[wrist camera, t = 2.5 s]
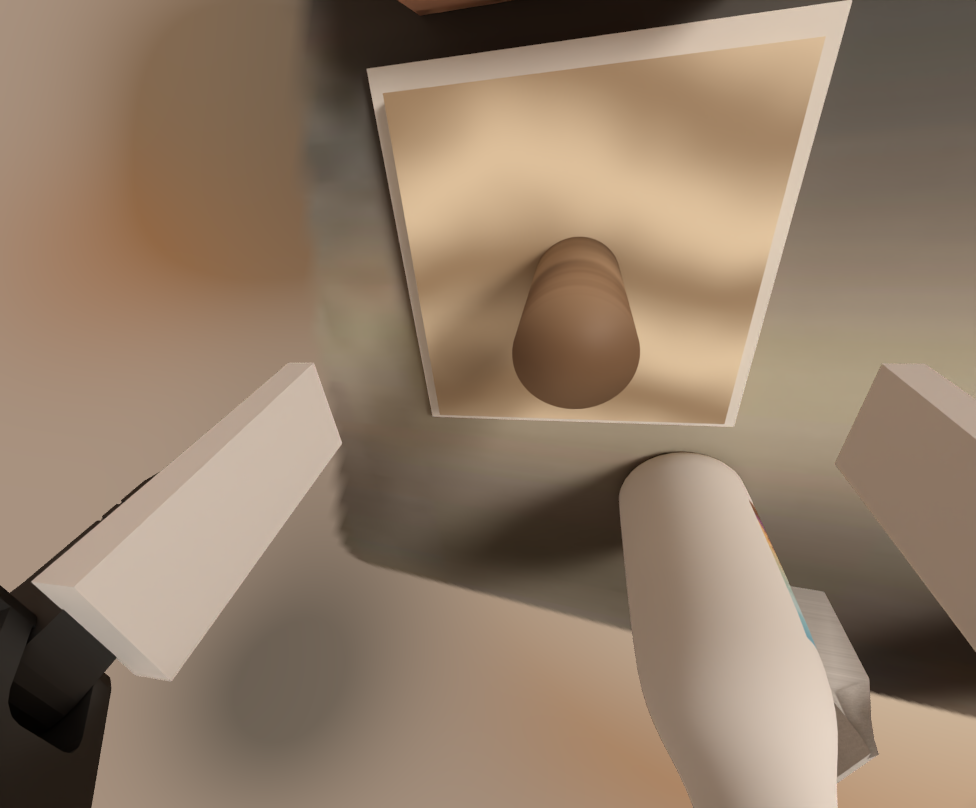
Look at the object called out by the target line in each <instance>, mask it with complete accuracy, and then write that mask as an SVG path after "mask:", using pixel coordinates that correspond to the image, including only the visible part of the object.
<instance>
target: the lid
mask: <svg viewBox="0 0 976 808" xmlns="http://www.w3.org/2000/svg"><path fill="white" fill-rule="evenodd" d="M825 38H826V36H824V37H816V38H808V39H800V40H792V41H785V42H777V43H769V44H761V45H754V46H746V47H738V48H730V49H723V50H715V51H707V52H699V53H691V54H684V55H676V56H668V57H660V58H653V59H645V60H637V61H629V62H622V63H614V64H606V65H598V66H590V67H583V68H575V69H567V70H559V71H552V72H544V73H536V74H528V75H520V76H513V77H505V78H497V79H489V80H482V81H474V82H466V83H458V84H451V85H443V86H435V87H427V88H419V89H412V90H404V91H396V92H388V93H383V98H384V104H385V110H386V115H387V121H388V126H389V132H390V138H391V143H392V149H393V155H394V160H395V166H396V171H397V177H398V183H399V188H400V194H401V199H402V205H403V211H404V216H405V222H406V227H407V233H408V239H409V244H410V250H411V255H412V261H413V267H414V272H415V278H416V284H417V289H418V295H419V300H420V306H421V312H422V317H423V323H424V328H425V334H426V340H427V345H428V351H429V356H430V362H431V368H432V373H433V379H434V384H435V390H436V396H437V401H438V407H439V413H440V415H459V416H489V417H520V418H551V419H581V420H612V421H643V422H674V423H704V424H725V420H726V416H727V412H728V408H729V405H730V401H731V397H732V393H733V389H734V385H735V382H736V378H737V374H738V370H739V366H740V363H741V359H742V355H743V351H744V347H745V343H746V340H747V336H748V332H749V328H750V324H751V320H752V317H753V313H754V309H755V305H756V301H757V298H758V294H759V290H760V286H761V282H762V278H763V275H764V271H765V267H766V263H767V259H768V255H769V252H770V248H771V244H772V240H773V236H774V233H775V229H776V225H777V221H778V217H779V213H780V210H781V206H782V202H783V198H784V194H785V191H786V187H787V183H788V179H789V175H790V171H791V168H792V164H793V160H794V156H795V152H796V148H797V145H798V141H799V137H800V133H801V129H802V126H803V122H804V118H805V114H806V110H807V106H808V103H809V99H810V95H811V91H812V87H813V83H814V80H815V76H816V72H817V68H818V64H819V61H820V57H821V53H822V49H823V45H824V41H825Z"/></svg>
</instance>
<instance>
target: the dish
mask: <svg viewBox="0 0 976 808" xmlns="http://www.w3.org/2000/svg"><path fill="white" fill-rule="evenodd" d="M398 1H399V2H401V3H402V4H404V5H405V6H407V7H408V8H410V9H411V10H413V11H414V12H416V13H417V14H419V15H420V16H422V15H428V14H434V13H440V12H446V11H452V10H458V9H464V8H470V7H476V6H482V5H489V4H495V3H501V2H507V1H513V0H398Z"/></svg>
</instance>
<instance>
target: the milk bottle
mask: <svg viewBox="0 0 976 808" xmlns="http://www.w3.org/2000/svg"><path fill="white" fill-rule="evenodd" d="M619 509H620V521H621V532H622V542H623V552H624V562H625V572H626V582H627V591H628V600H629V609H630V618H631V627H632V635H633V642H634V649H635V656H636V663H637V670H638V674H639V679H640V683H641V687H642V691H643V695H644V698H645V701H646V705H647V707H648V710H649V713H650V716H651V718H652V720H653V723H654V725H655V727H656V729H657V732H658V734H659V736H660V738H661V740H662V742H663V744H664V746H665V748H666V750H667V752H668V754H669V755H670V757H671V759H672V761H673V763H674V765H675V767H676V769H677V771H678V773H679V775H680V777H681V780H682V782H683V784H684V786H685V788H686V790H687V793H688V795H689V798H690V800H691V803H692V805H693V808H838V805H837V757H838V729H837V720H836V711H835V706H834V701H833V696H832V692H831V688H830V685H829V682H828V679H827V675H826V672H825V669H824V666H823V663H822V661H821V658H820V656H819V653H818V651H817V648H816V646H815V643H814V641H813V638H812V636H811V633H810V631H809V628H808V626H807V623H806V621H805V619H804V617H803V614H802V612H801V610H800V608H799V605H798V603H797V601H796V598H795V596H794V594H793V592H792V589H791V587H790V585H789V582H788V580H787V578H786V576H785V573H784V571H783V569H782V567H781V564H780V562H779V560H778V558H777V555H776V553H775V551H774V549H773V547H772V544H771V542H770V540H769V538H768V536H767V533H766V531H765V529H764V527H763V524H762V522H761V520H760V518H759V516H758V513H757V511H756V509H755V507H754V505H753V502H752V500H751V498H750V496H749V494H748V492H747V490H746V488H745V486H744V484H743V482H742V480H741V478H740V477H739V476H738V474H737V473H736V472H735V471H734V470H733V469H731V468H730V467H729V466H727V465H726V464H724V463H723V462H721V461H719V460H718V459H715V458H712V457H710V456H708V455H703V454H698V453H688V452H679V453H669V454H665V455H660V456H657V457H654V458H652V459H649V460H647V461H645V462H644V463H642V464H640V465H638V466H637V467H636V468H635V469H634V470H633V471H631V473H630V474H629V475H628V477H627V478H626V479H625V481H624V483H623V485H622V487H621V489H620V493H619Z"/></svg>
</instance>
